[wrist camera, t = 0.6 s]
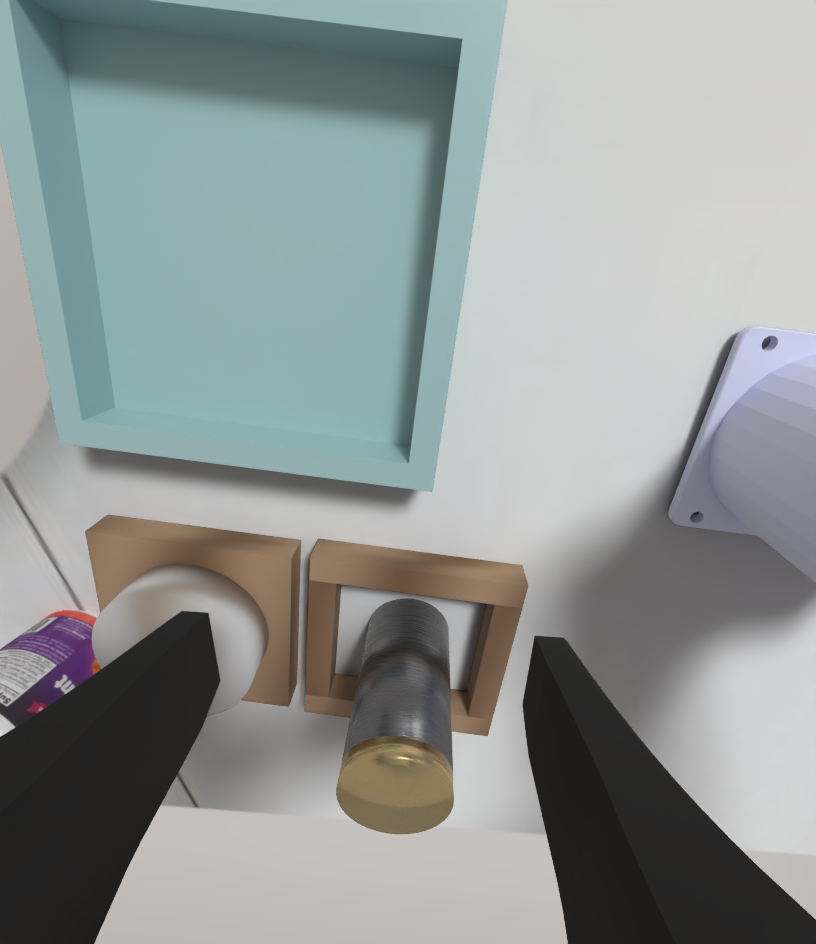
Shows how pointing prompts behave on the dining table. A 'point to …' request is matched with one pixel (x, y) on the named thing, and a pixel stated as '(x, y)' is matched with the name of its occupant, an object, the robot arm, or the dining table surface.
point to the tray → (249, 221)
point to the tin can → (400, 724)
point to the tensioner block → (286, 607)
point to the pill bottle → (45, 665)
